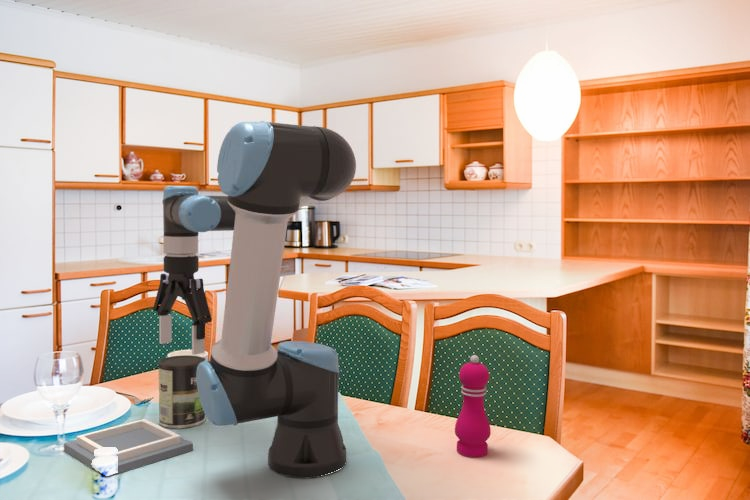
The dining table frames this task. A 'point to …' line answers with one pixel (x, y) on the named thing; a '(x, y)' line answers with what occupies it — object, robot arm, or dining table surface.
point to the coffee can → (179, 392)
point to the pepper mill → (473, 410)
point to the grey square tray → (130, 444)
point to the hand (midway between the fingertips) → (181, 348)
